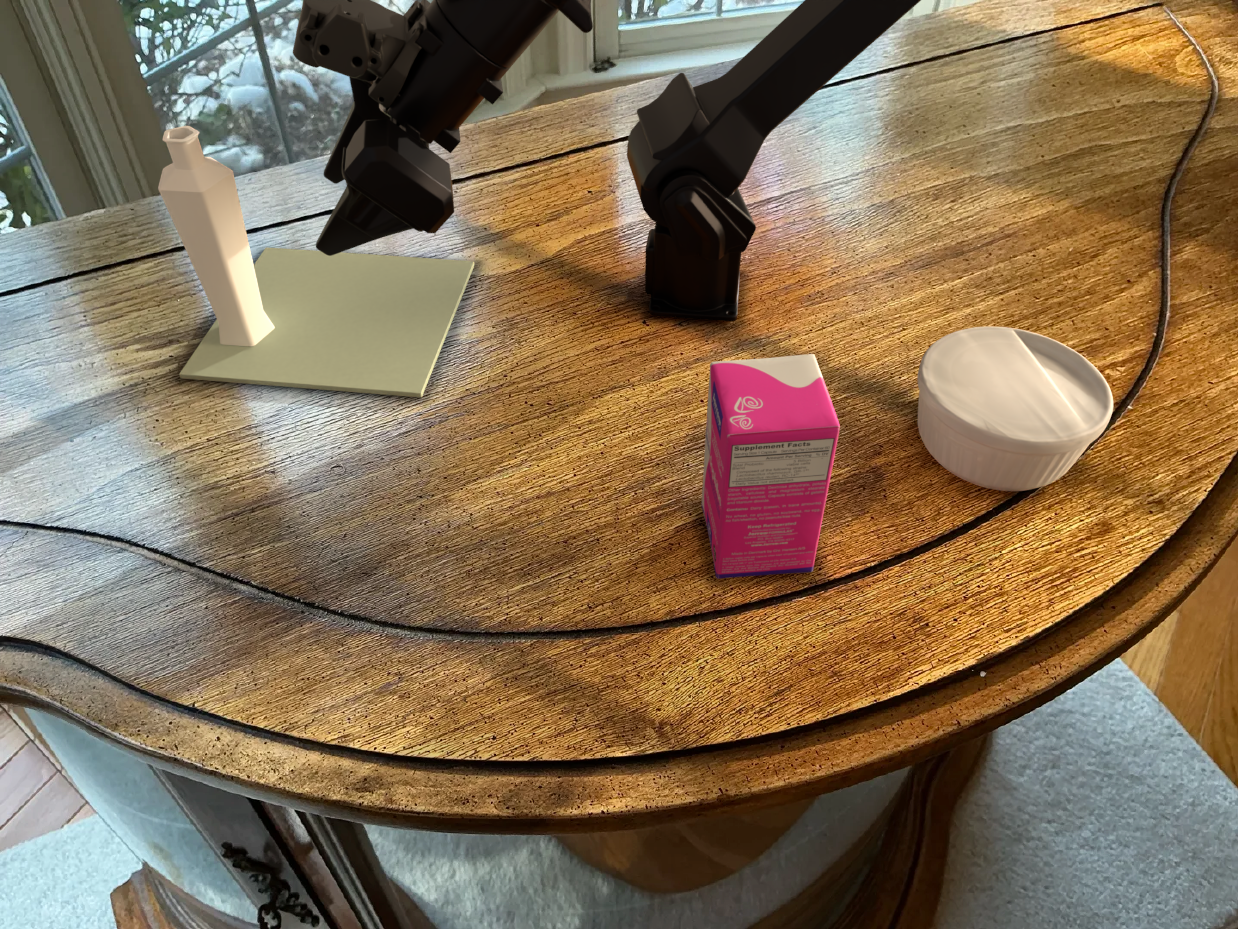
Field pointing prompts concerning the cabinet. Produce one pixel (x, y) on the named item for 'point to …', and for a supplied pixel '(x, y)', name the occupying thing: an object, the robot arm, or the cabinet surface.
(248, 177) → the cabinet surface
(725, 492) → the supplement box
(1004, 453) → the ramekin
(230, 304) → the beige vase
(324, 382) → the mat
